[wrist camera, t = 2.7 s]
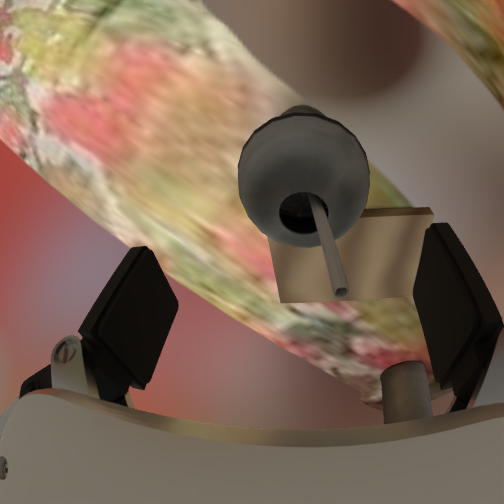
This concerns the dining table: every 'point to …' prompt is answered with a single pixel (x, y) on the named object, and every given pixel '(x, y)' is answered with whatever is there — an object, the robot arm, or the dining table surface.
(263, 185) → the beverage cup
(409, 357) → the dining table surface
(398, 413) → the pillar candle
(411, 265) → the walnut board
